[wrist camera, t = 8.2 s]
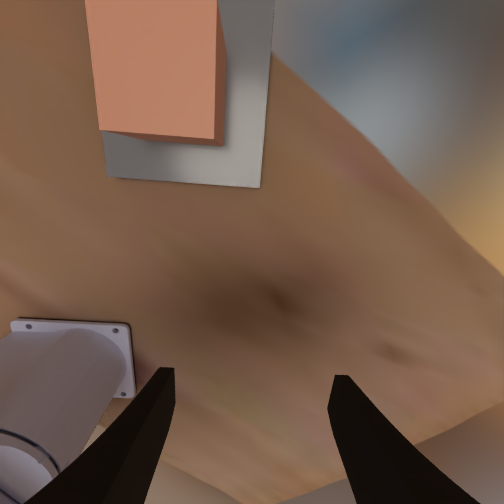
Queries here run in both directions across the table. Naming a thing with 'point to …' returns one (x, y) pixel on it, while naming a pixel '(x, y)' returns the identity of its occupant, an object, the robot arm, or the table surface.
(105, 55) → the clay cube
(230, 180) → the slate tile
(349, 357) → the table surface
